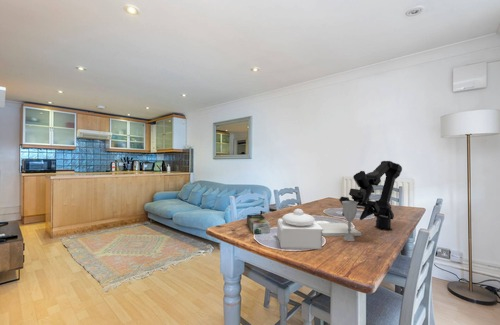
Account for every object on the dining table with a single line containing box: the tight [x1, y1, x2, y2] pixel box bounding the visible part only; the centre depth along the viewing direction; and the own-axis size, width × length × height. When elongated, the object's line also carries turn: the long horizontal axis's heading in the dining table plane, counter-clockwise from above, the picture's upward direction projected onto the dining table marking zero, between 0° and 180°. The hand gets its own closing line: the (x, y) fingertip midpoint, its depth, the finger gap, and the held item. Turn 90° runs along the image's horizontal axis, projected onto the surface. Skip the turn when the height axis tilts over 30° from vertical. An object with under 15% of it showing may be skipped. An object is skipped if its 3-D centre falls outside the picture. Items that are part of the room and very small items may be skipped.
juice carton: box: [246, 214, 271, 235], centre depth 129 cm, size 20×10×6 cm, turn 11°
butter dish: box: [276, 208, 323, 250], centre depth 108 cm, size 18×18×16 cm
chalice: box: [342, 200, 358, 242], centre depth 112 cm, size 7×7×18 cm
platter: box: [317, 222, 362, 237], centre depth 126 cm, size 20×18×2 cm
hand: (351, 217), depth 113 cm, fingers open, 9 cm apart
